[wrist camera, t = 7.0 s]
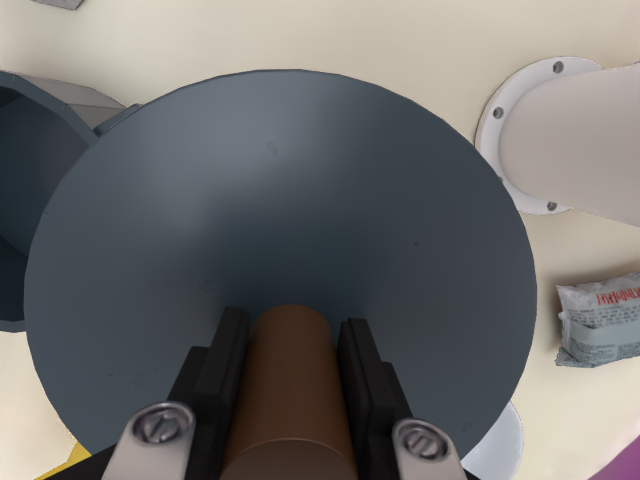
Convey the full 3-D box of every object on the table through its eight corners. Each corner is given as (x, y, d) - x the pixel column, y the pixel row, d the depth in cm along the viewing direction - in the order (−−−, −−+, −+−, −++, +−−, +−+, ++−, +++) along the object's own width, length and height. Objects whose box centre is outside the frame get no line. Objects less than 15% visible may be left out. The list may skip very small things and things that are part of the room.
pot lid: (-67, 233, 12) (-471, 357, 6) (410, -37, 11) (580, -272, 4) (215, 554, 17) (166, 819, 10) (572, 395, 15) (766, 586, 9)
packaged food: (539, 275, 36) (576, 299, 31) (660, 249, 36) (715, 268, 32) (540, 353, 39) (575, 385, 34) (653, 328, 39) (703, 357, 34)
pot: (-109, 162, 29) (-275, 177, 21) (125, 23, 28) (51, -23, 19) (30, 321, 34) (-59, 389, 25) (238, 209, 32) (219, 240, 24)
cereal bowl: (518, 376, 39) (566, 428, 33) (421, 487, 43) (445, 556, 36) (386, 297, 36) (409, 337, 29) (291, 425, 39) (291, 489, 32)
